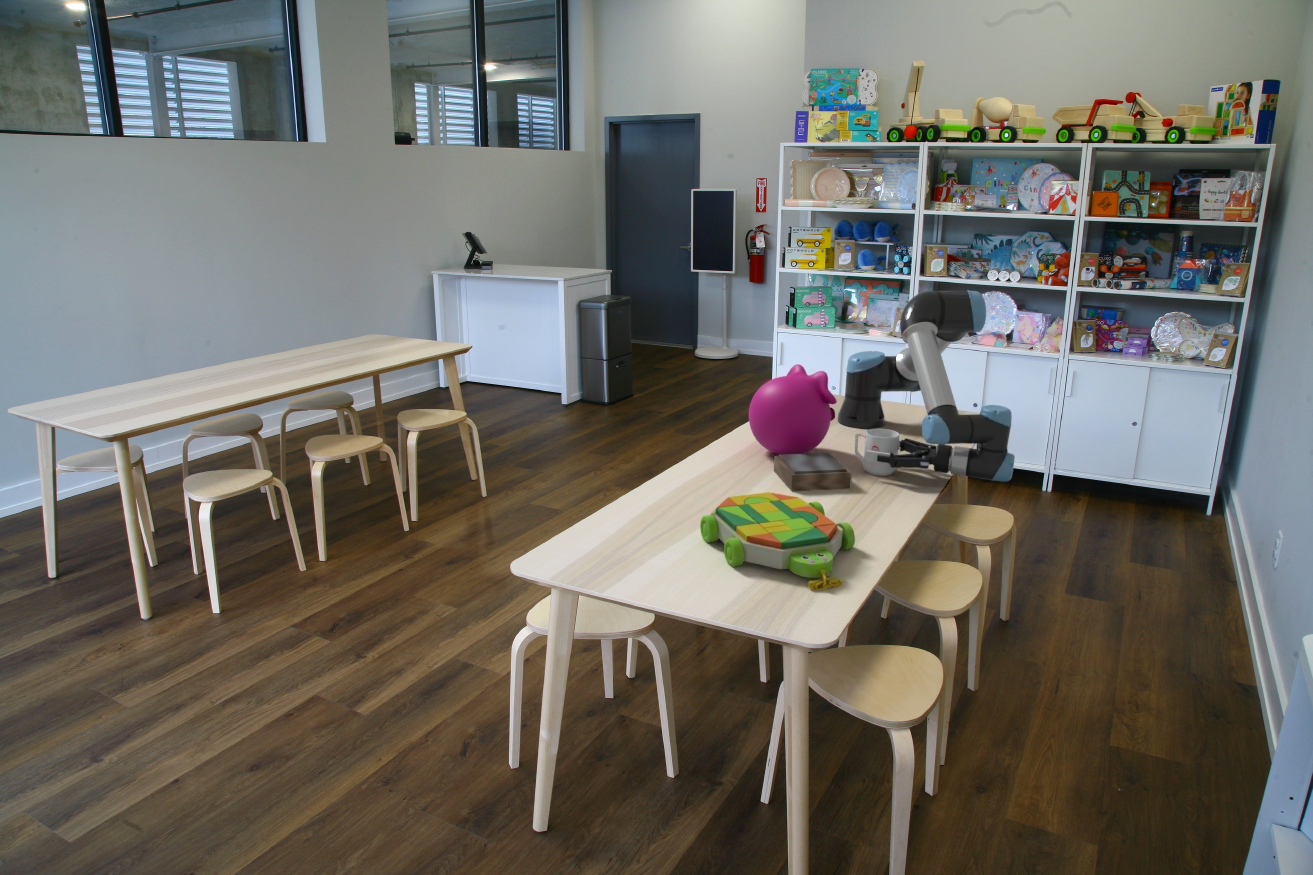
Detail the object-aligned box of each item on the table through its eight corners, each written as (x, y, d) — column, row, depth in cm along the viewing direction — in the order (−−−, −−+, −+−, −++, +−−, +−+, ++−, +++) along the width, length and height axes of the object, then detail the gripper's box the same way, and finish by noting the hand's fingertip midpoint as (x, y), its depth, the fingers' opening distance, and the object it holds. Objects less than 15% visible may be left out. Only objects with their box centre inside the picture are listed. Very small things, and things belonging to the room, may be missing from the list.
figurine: (846, 457, 248) (853, 373, 240) (782, 471, 236) (787, 383, 228) (794, 437, 267) (798, 358, 259) (732, 448, 255) (735, 366, 247)
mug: (900, 470, 237) (903, 432, 234) (889, 478, 230) (893, 439, 227) (859, 462, 244) (862, 424, 240) (847, 470, 237) (850, 432, 233)
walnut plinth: (828, 468, 238) (830, 451, 237) (850, 488, 223) (851, 470, 221) (773, 470, 236) (774, 453, 234) (791, 491, 220) (792, 472, 219)
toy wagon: (764, 602, 163) (766, 567, 161) (690, 529, 197) (690, 499, 195) (893, 580, 173) (896, 546, 171) (801, 513, 207) (803, 485, 204)
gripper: (942, 487, 217) (859, 474, 226) (955, 459, 238) (879, 449, 247) (946, 459, 215) (862, 447, 224) (958, 434, 236) (881, 424, 245)
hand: (870, 448), depth 235 cm, fingers open, 13 cm apart
